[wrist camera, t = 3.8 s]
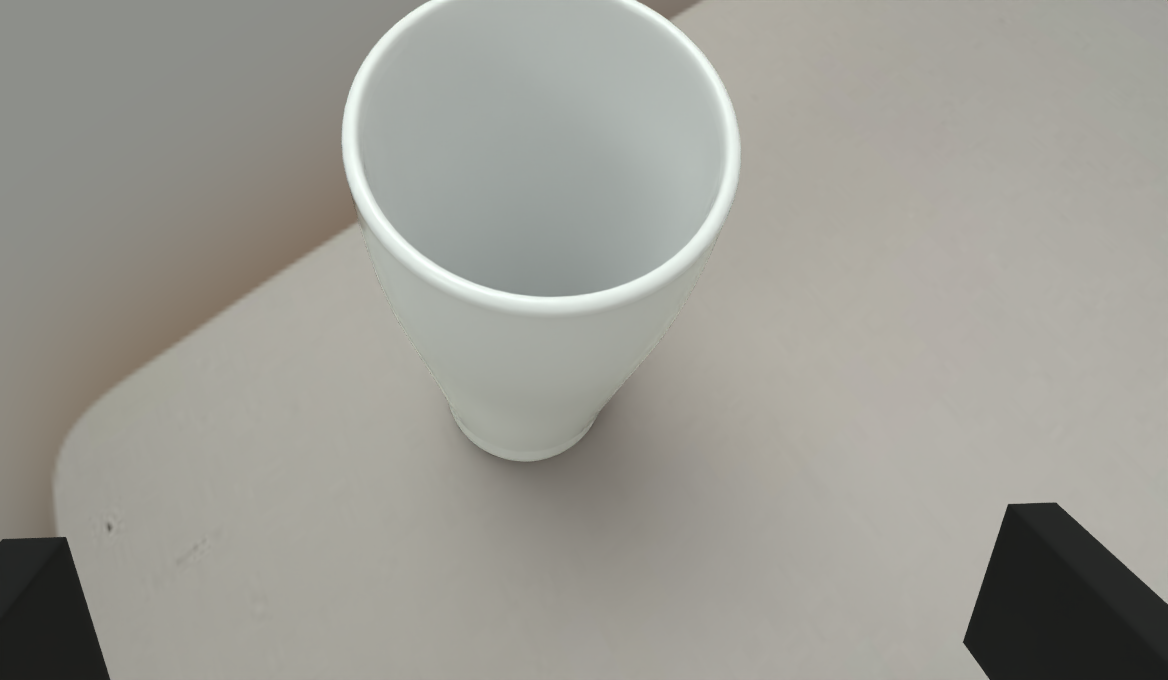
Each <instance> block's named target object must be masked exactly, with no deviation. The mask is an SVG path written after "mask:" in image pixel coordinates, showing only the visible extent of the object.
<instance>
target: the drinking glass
mask: <svg viewBox="0 0 1168 680" xmlns="http://www.w3.org/2000/svg"><path fill="white" fill-rule="evenodd" d="M341 143H342V144H341V146H342V156H343V164H344V169H345V173H346V177H347V182H348V185H349V187H350V191H351V195H352V199H353V203H354V207H355V211H356V215H357V219H358V222H359V226H360V229H361V233H362V236H363V239H364V242H365V245H366V248H367V251H368V254H369V257H370V260H371V262H372V265H373V268H374V271H375V274H376V276H377V279H378V281H379V283H380V286H381V288H382V290H383V292H384V295H385V297H386V299H387V301H388V303H389V305H390V307H391V309H392V311H393V313H394V315H395V317H396V319H397V321H398V323H399V324H400V326H401V328H402V329H403V331H404V333H405V334H406V336H407V337H408V339H409V341H410V342H411V344H412V346H413V347H414V349H415V350H416V352H417V353H418V355H419V356H420V358H421V360H422V361H423V363H424V364H425V366H426V367H427V369H428V370H429V372H430V374H431V375H432V377H433V378H434V380H435V381H436V383H437V385H438V386H439V388H440V389H441V391H442V393H443V394H444V396H445V398H446V399H447V401H448V405H449V408H450V410H451V413H452V415H453V417H454V419H455V421H456V423H457V425H458V426H459V428H460V429H461V430H462V432H463V433H464V434H465V435H466V436H467V437H468V438H469V439H470V440H471V441H472V442H473V443H474V444H475V445H477V446H478V447H480V448H481V449H483V450H484V451H486V452H488V453H490V454H492V455H494V456H497V457H500V458H503V459H507V460H512V461H525V462H528V461H538V460H543V459H547V458H550V457H553V456H555V455H558V454H560V453H562V452H564V451H566V450H567V449H569V448H570V447H572V446H573V445H574V444H576V443H577V442H578V441H579V440H580V439H581V438H582V437H583V436H584V435H585V434H586V433H587V432H588V430H589V429H590V428H591V426H592V425H593V423H594V421H595V419H596V418H597V416H598V414H599V412H600V411H601V409H602V408H603V407H604V406H605V405H606V403H607V402H608V401H609V400H610V399H611V398H612V396H613V395H614V394H615V393H616V392H617V391H618V389H619V388H620V387H621V386H622V385H623V384H624V383H625V382H626V380H627V379H628V378H629V377H630V376H631V375H632V374H633V372H634V371H635V370H636V369H637V368H638V367H639V366H640V364H641V363H642V362H643V361H644V360H645V359H646V357H647V356H648V355H649V354H650V353H651V352H652V350H653V349H654V348H655V347H656V346H657V344H658V343H659V342H660V340H661V339H662V338H663V336H664V335H665V334H666V332H667V331H668V329H669V328H670V326H671V325H672V323H673V322H674V320H675V319H676V317H677V316H678V314H679V313H680V311H681V310H682V308H683V306H684V305H685V303H686V301H687V300H688V298H689V296H690V294H691V292H692V290H693V289H694V287H695V285H696V283H697V281H698V279H699V277H700V275H701V273H702V271H703V269H704V267H705V265H706V263H707V261H708V259H709V257H710V255H711V253H712V250H713V248H714V246H715V243H716V241H717V239H718V236H719V234H720V231H721V229H722V227H723V224H724V222H725V221H726V219H727V217H728V214H729V212H730V209H731V207H732V204H733V202H734V198H735V194H736V191H737V187H738V182H739V175H740V168H741V144H740V133H739V128H738V123H737V118H736V115H735V111H734V108H733V105H732V102H731V100H730V97H729V95H728V93H727V90H726V88H725V86H724V84H723V82H722V81H721V79H720V77H719V75H718V73H717V72H716V70H715V69H714V67H713V66H712V64H711V63H710V62H709V60H708V59H707V57H706V56H705V55H704V54H703V53H702V51H701V50H700V49H699V48H698V47H697V45H696V44H695V43H694V42H693V41H692V40H691V39H690V38H689V37H688V36H687V35H686V34H684V33H683V32H682V31H681V30H680V29H679V28H677V27H676V26H675V25H674V24H673V23H671V22H670V21H669V20H667V19H665V18H664V17H663V16H661V15H660V14H659V13H657V12H656V11H654V10H652V9H650V8H649V7H647V6H645V5H644V4H642V3H640V2H637V1H636V0H430V1H428V2H427V3H424V4H423V5H421V6H420V7H418V8H416V9H415V10H413V11H412V12H410V13H409V14H407V15H406V16H405V17H404V18H402V19H401V20H400V21H398V22H397V23H396V24H395V25H394V26H393V27H392V28H391V29H390V30H389V31H388V32H386V33H385V34H384V35H383V36H382V38H381V39H380V40H379V41H378V42H377V43H376V45H375V46H374V47H373V48H372V50H371V51H370V52H369V54H368V55H367V57H366V58H365V60H364V61H363V63H362V65H361V67H360V68H359V71H358V72H357V74H356V76H355V78H354V81H353V83H352V86H351V88H350V91H349V93H348V97H347V101H346V105H345V109H344V115H343V122H342V141H341Z"/></svg>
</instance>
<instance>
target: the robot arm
mask: <svg viewBox="0 0 1168 680" xmlns="http://www.w3.org/2000/svg"><path fill="white" fill-rule="evenodd" d="M963 643H964V644H965V646H966V647H967V648H968V650H969V651H970V653H971V654H972V655H973V657H974V658H975V660H976V661H977V662H978V664H979V665H980V667H981V668H982V669H983V671H984V672H985V674H986V675H987V676H988V678H989V679H990V680H1168V604H1167V603H1165V602H1164V601H1163V600H1162V599H1161V598H1160V597H1159V596H1158V595H1157V594H1156V593H1155V592H1153V591H1152V590H1151V589H1150V588H1149V587H1148V586H1147V585H1146V584H1145V583H1144V582H1142V581H1141V580H1140V579H1139V578H1138V577H1137V576H1136V575H1135V574H1134V573H1133V572H1132V571H1130V570H1129V569H1128V568H1127V567H1126V566H1125V565H1124V564H1123V563H1122V562H1121V561H1119V560H1118V559H1117V558H1116V557H1115V556H1114V555H1113V554H1112V553H1111V552H1110V551H1108V550H1107V549H1106V548H1105V547H1104V546H1103V545H1102V544H1101V543H1100V542H1099V541H1098V540H1096V539H1095V538H1094V537H1093V536H1092V535H1091V534H1090V533H1089V532H1088V531H1087V530H1085V529H1084V528H1083V527H1082V526H1081V525H1080V524H1079V523H1078V522H1077V521H1076V520H1075V519H1073V518H1072V517H1071V516H1070V515H1069V514H1068V513H1067V512H1066V511H1065V510H1064V509H1062V508H1061V507H1060V506H1059V505H1058V504H1057V503H1028V504H1008V506H1007V509H1006V512H1005V515H1004V518H1003V521H1002V525H1001V528H1000V531H999V534H998V537H997V540H996V543H995V546H994V549H993V552H992V555H991V558H990V561H989V564H988V567H987V570H986V573H985V577H984V580H983V583H982V586H981V589H980V592H979V595H978V598H977V601H976V604H975V607H974V610H973V613H972V616H971V619H970V622H969V626H968V629H967V632H966V635H965V638H964V641H963ZM0 680H110V677H109V674H108V671H107V668H106V664H105V661H104V658H103V655H102V652H101V648H100V645H99V642H98V639H97V635H96V632H95V629H94V626H93V622H92V619H91V616H90V613H89V610H88V606H87V603H86V600H85V597H84V593H83V590H82V587H81V584H80V580H79V577H78V574H77V571H76V568H75V564H74V561H73V558H72V555H71V551H70V548H69V545H68V542H67V538H66V537H53V538H25V539H3V540H2V541H1V542H0Z"/></svg>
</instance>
